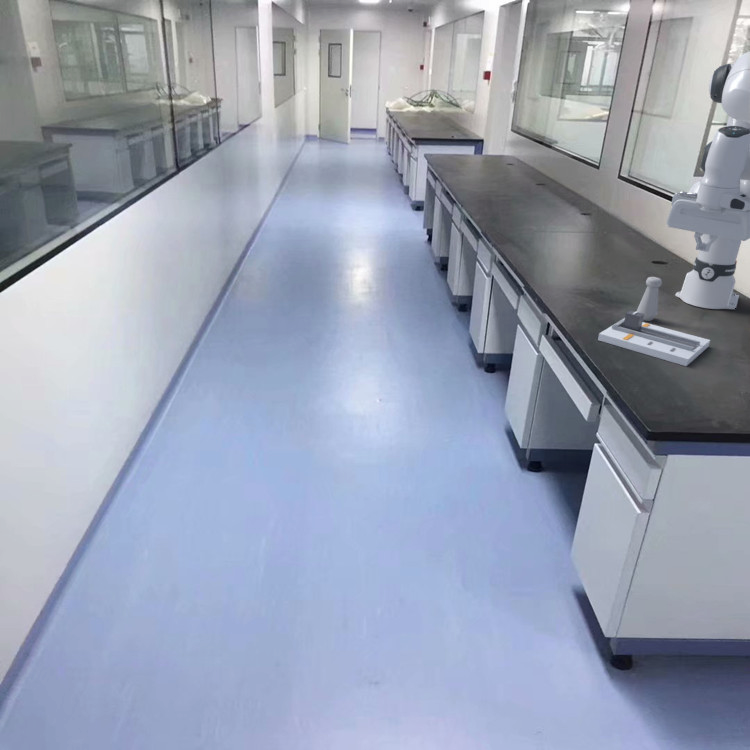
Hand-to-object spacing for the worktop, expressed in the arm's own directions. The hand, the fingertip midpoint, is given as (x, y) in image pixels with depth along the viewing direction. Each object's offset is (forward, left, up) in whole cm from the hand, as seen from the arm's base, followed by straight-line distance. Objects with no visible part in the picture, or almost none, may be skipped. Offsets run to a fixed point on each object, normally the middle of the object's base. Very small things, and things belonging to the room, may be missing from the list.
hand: (702, 250), depth 162 cm
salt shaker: (-13, -14, -27) cm, 33 cm away
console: (+5, -5, -26) cm, 27 cm away
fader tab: (+5, -12, -24) cm, 27 cm away
